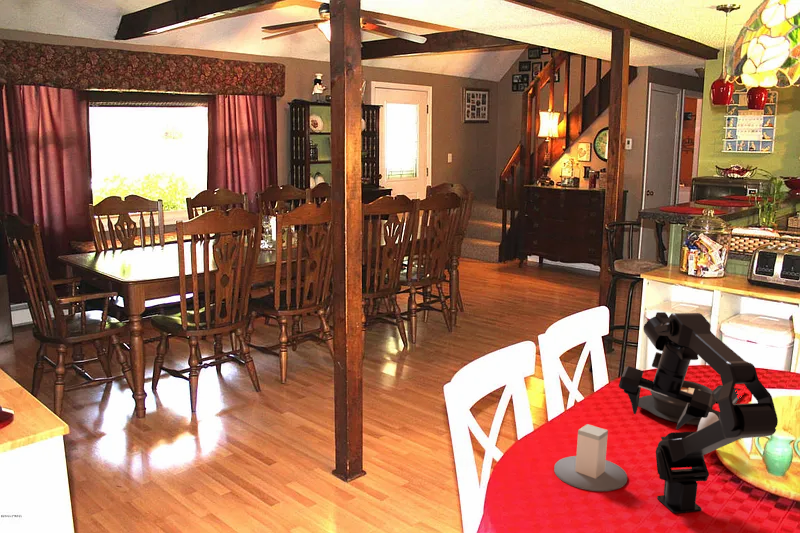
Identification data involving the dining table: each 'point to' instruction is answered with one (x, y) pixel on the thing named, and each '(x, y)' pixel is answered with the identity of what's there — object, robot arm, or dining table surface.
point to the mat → (605, 482)
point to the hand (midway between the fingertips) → (655, 420)
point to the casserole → (674, 404)
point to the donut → (707, 421)
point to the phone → (718, 390)
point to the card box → (591, 451)
